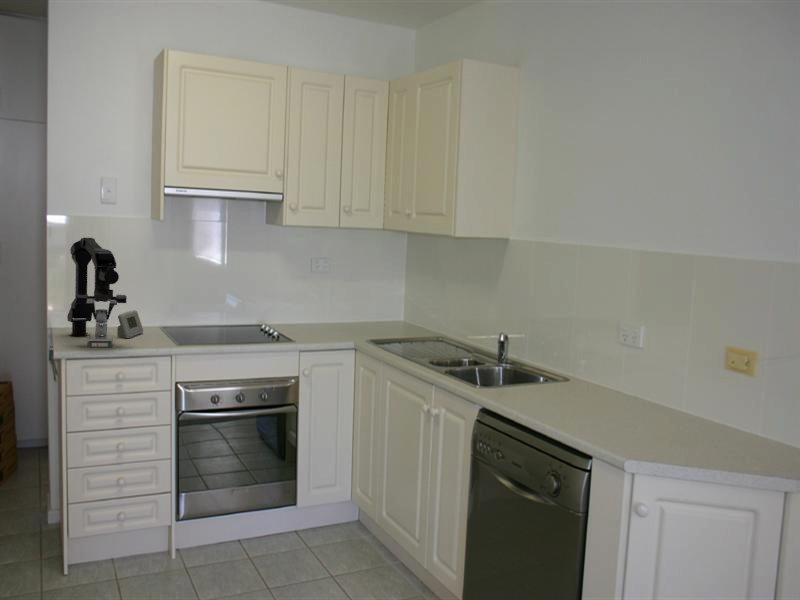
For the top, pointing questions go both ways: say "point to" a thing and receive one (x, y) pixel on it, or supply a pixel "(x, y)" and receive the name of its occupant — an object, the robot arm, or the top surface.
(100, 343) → the scale base
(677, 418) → the top surface
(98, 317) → the cylinder
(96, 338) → the platform
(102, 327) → the cylinder
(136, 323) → the digital clock
